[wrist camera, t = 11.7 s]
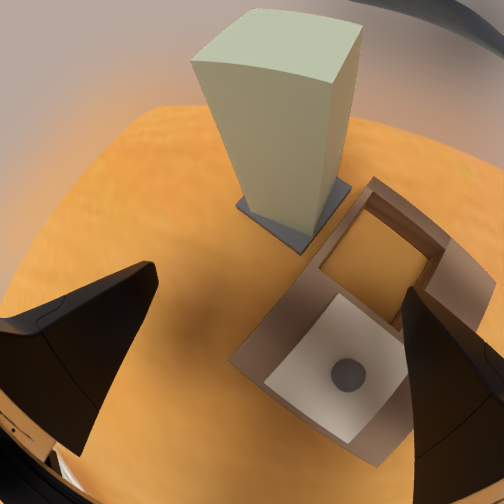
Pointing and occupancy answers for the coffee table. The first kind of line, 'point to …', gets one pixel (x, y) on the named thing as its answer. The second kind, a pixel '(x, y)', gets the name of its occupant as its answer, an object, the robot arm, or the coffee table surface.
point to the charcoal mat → (291, 236)
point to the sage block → (283, 107)
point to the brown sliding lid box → (357, 336)
